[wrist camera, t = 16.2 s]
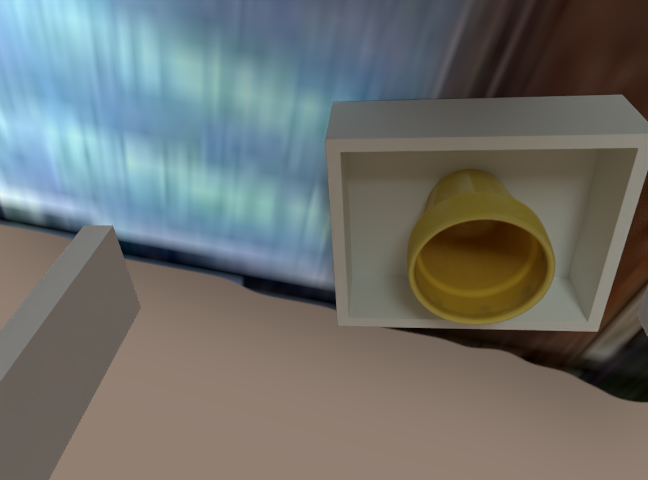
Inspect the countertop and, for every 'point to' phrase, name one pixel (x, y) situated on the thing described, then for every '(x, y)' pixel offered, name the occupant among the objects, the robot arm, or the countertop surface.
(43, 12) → the countertop surface
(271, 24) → the countertop surface
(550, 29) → the countertop surface
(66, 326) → the robot arm
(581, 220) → the crate
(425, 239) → the plant pot
